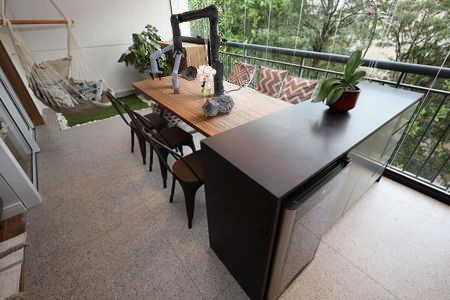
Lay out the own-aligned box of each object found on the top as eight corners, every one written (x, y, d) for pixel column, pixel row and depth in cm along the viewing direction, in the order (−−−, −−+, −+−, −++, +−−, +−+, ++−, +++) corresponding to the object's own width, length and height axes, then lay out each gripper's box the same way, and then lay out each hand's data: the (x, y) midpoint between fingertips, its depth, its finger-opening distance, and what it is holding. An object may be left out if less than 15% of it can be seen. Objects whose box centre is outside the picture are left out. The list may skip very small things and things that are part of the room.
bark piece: (202, 74, 255) (191, 66, 272) (199, 69, 248) (187, 61, 265) (192, 85, 255) (181, 76, 272) (188, 81, 249) (177, 72, 266)
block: (173, 93, 209) (173, 89, 207) (175, 92, 213) (174, 88, 211) (178, 93, 209) (177, 90, 207) (179, 92, 213) (178, 88, 210)
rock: (218, 115, 147) (243, 104, 163) (206, 95, 147) (232, 87, 164) (208, 125, 160) (232, 114, 177) (197, 107, 161) (222, 98, 177)
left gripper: (145, 67, 207) (148, 81, 215) (159, 67, 206) (161, 81, 213) (148, 66, 213) (151, 79, 221) (162, 66, 212) (164, 79, 219)
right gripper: (168, 42, 173) (170, 62, 182) (184, 42, 172) (186, 62, 181) (170, 41, 179) (173, 60, 188) (186, 41, 178) (188, 61, 187)
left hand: (156, 80), depth 217 cm, fingers open, 7 cm apart
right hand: (179, 61), depth 184 cm, fingers open, 8 cm apart
